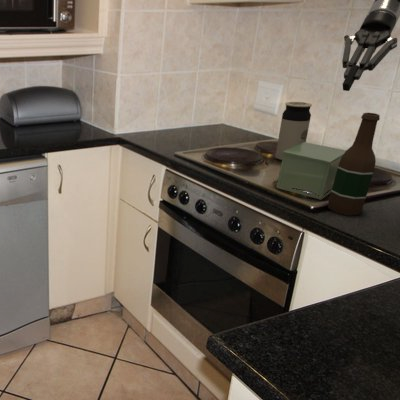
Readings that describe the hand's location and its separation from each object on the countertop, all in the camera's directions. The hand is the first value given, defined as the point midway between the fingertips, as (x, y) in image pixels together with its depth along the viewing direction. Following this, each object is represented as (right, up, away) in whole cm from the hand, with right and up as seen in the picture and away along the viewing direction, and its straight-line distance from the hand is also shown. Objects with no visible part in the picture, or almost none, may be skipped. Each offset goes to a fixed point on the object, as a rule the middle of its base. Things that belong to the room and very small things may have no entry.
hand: (345, 87), depth 128 cm
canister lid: (-8, -18, 0) cm, 20 cm away
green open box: (-8, -27, +4) cm, 28 cm away
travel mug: (-1, -17, +28) cm, 33 cm away
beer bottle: (-7, -33, -9) cm, 35 cm away
